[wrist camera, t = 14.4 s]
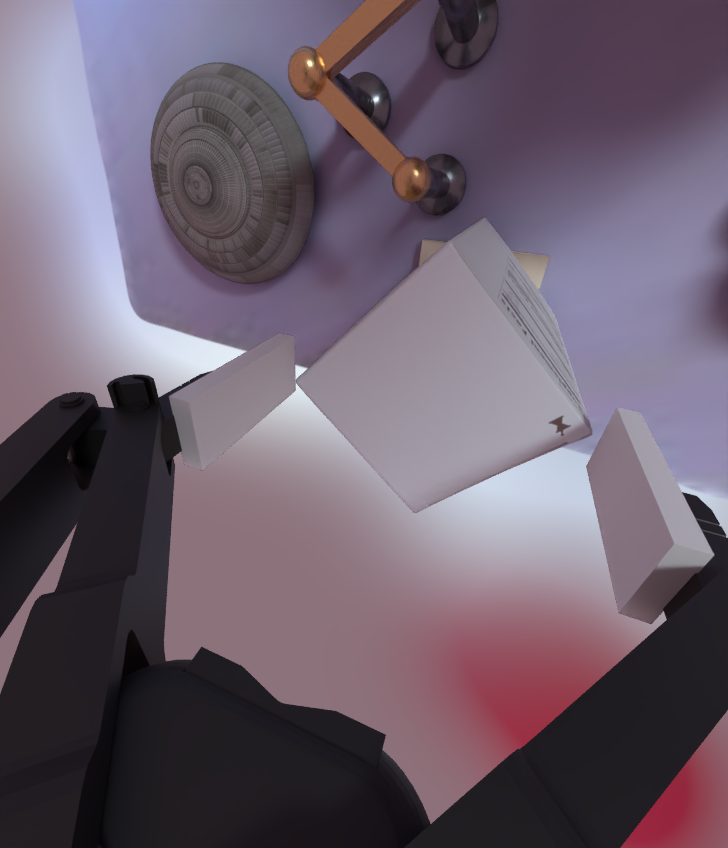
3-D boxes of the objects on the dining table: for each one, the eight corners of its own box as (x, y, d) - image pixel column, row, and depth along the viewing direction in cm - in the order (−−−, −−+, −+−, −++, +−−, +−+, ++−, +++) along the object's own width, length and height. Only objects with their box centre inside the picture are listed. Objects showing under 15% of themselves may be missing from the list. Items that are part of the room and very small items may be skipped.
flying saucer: (156, 225, 36) (106, 229, 32) (182, 24, 28) (118, -10, 23) (285, 312, 36) (253, 327, 32) (352, 136, 28) (320, 124, 23)
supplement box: (485, 212, 26) (457, 225, 12) (560, 317, 28) (609, 433, 14) (385, 303, 31) (286, 383, 18) (453, 387, 33) (412, 520, 19)
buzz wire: (347, -12, 24) (259, -123, 16) (505, -16, 21) (498, -147, 13) (337, 202, 30) (270, 203, 22) (459, 217, 28) (435, 224, 19)
